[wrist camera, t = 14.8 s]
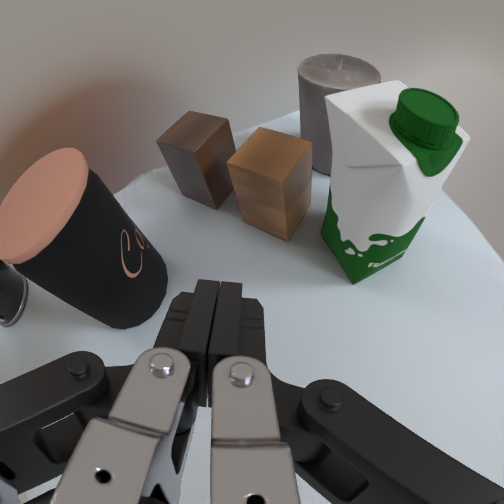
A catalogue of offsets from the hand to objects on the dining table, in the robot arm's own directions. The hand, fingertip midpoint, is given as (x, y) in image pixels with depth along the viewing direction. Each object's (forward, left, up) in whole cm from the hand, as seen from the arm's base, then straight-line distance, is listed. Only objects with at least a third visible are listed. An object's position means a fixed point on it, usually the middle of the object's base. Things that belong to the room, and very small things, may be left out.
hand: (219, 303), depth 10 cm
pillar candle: (-6, +29, -19) cm, 35 cm away
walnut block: (-18, +16, -19) cm, 31 cm away
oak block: (-8, +16, -19) cm, 26 cm away
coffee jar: (-18, -1, -19) cm, 27 cm away
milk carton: (+2, +16, -19) cm, 26 cm away
